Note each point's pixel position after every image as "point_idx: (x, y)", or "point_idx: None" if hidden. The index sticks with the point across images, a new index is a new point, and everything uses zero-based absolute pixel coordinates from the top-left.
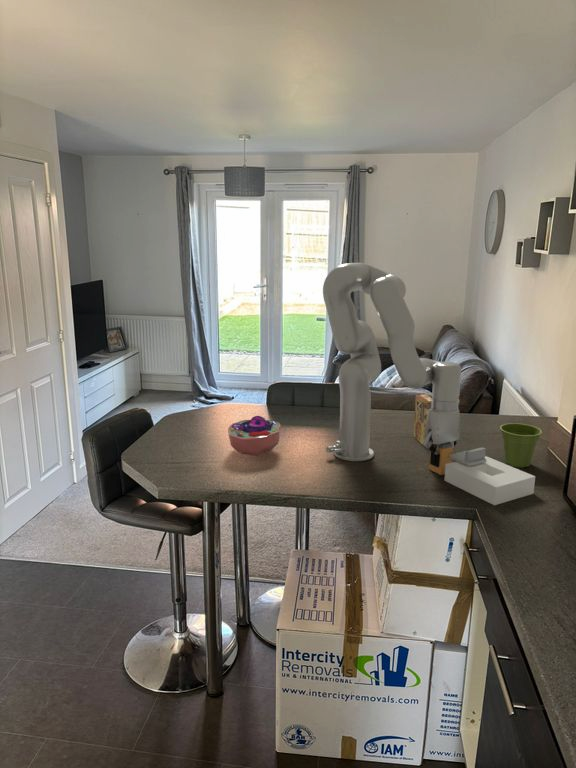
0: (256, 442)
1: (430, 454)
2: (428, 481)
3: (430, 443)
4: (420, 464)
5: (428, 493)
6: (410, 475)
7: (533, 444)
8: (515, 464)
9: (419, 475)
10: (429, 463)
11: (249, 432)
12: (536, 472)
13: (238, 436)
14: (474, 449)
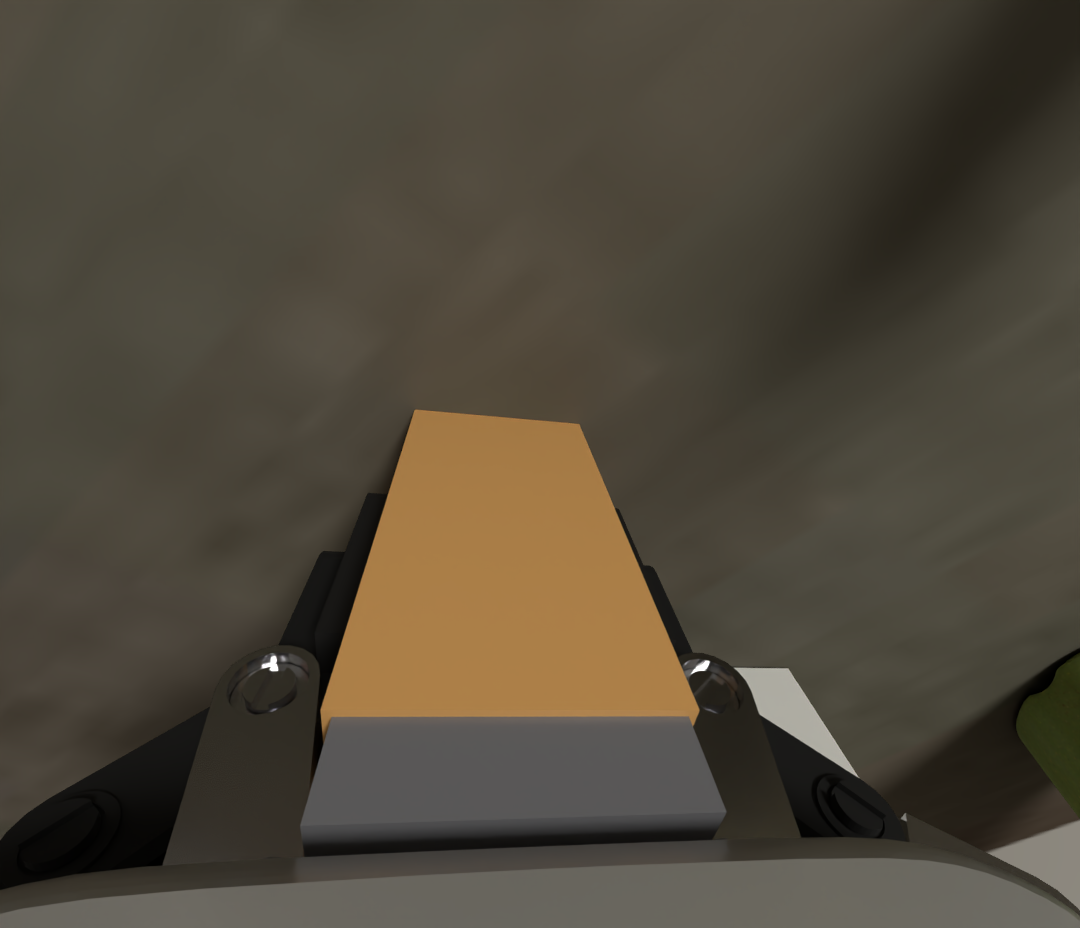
0: None
1: (380, 531)
2: (172, 616)
3: (164, 864)
4: (435, 220)
5: (17, 755)
6: (42, 421)
7: None
8: (1031, 743)
9: (167, 476)
10: (404, 443)
11: None
12: (987, 797)
13: None
14: None
